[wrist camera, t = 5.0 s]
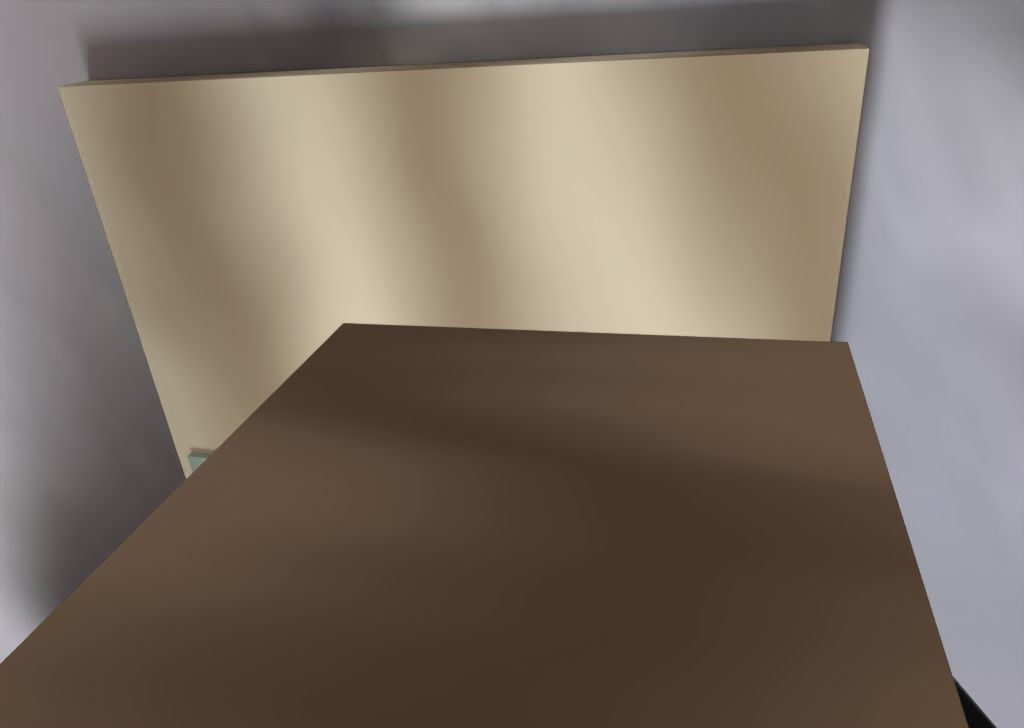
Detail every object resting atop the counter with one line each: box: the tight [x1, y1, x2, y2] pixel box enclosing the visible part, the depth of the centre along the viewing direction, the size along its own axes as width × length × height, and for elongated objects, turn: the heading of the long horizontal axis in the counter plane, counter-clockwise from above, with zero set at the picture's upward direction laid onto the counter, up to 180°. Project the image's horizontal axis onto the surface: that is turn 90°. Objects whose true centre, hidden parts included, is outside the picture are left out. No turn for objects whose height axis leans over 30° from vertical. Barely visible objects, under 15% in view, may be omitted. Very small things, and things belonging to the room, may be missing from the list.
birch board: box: [58, 43, 869, 479], centre depth 21 cm, size 18×20×1 cm
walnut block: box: [0, 323, 969, 728], centre depth 7 cm, size 5×5×5 cm
